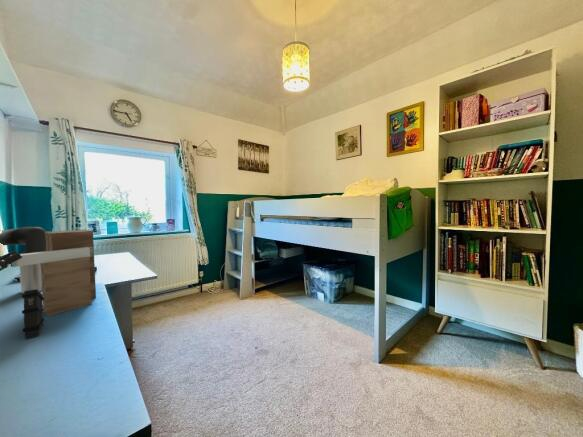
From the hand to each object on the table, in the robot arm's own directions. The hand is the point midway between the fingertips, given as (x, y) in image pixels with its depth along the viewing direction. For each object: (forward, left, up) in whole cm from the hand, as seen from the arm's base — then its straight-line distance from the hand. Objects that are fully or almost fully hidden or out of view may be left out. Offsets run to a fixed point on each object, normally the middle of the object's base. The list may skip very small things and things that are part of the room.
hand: (18, 253), depth 91 cm
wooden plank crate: (-7, +15, -25) cm, 30 cm away
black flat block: (+16, +1, -26) cm, 30 cm away
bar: (0, +10, -4) cm, 11 cm away
